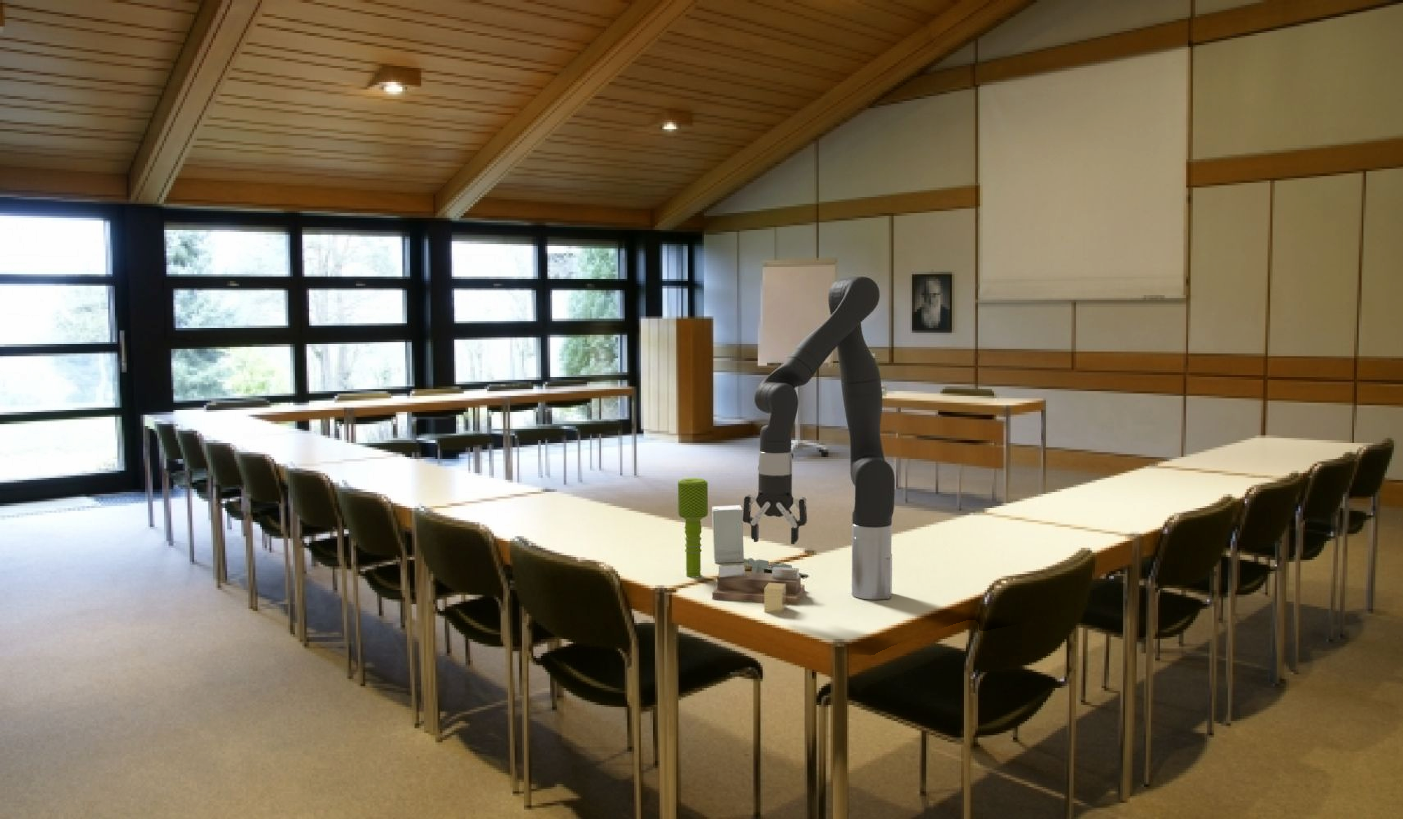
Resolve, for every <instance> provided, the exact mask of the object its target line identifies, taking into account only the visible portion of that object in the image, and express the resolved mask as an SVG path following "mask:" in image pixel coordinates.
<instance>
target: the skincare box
mask: <svg viewBox="0 0 1403 819" xmlns="http://www.w3.org/2000/svg"><path fill="white" fill-rule="evenodd" d="M711 515H712V517H711V520H712V544H713V547H712V548H713V559H714V564H723V563H724V564H725V563H729V564H730V563H744V562H745V554H744V553H745V552H744V550H745V549H744V526H743V525H744V522H743V508H742V506H741V504H738V505H737V504H736V505H719V506H718V505H717V506H715V505H714V506H711Z"/></svg>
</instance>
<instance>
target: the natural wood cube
mask: <svg viewBox="0 0 1403 819" xmlns="http://www.w3.org/2000/svg"><path fill="white" fill-rule="evenodd" d="M763 603H764V611H763V612H764V613H772V614H783V613H784V611H785V610H786V608H787V604H786V584H781V583H768V584H767V586H766V587H765V588H764V602H763Z"/></svg>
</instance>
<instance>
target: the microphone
mask: <svg viewBox="0 0 1403 819" xmlns="http://www.w3.org/2000/svg"><path fill="white" fill-rule="evenodd" d="M708 482H709V481H708V480H705V479H702V478H698V477H697V478H695V477H694V478H693V477H692V478H690V477H689V478H682V479H681V480H678V481H677V506H678V507H677V510H678V512H677V514H678V515H677V516H679V518H683V520H685V522H684V523H685V525H684V534H685V535H686V537H684V540H685V547H686V548H685V550H684V552H685V566H686V568H685V569H686V570H685V572H686V574H685V575H686V577H688V578H698V577H701V570H702V569H701V568H702V567H701V559H702V558H701V552H703V551H702V549H701V547H702V544H701V540H702V537H701V534H702V524H701V523H702V522H701V520H702V519H705V518H706V517H707V516H708V513H709V512H708V511H709V508H708V507H709V506H708V505H709V501H708V500H709V498H708V496H709V495H708V494H709V492H708V489H709V488H708V485H709V484H708Z"/></svg>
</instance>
